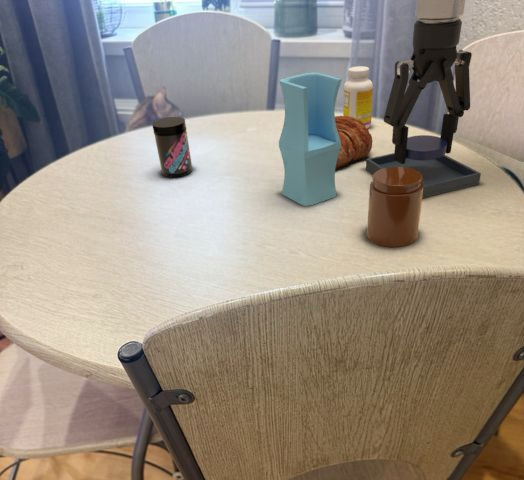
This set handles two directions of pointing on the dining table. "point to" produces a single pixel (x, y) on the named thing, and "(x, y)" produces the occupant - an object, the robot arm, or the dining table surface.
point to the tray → (432, 172)
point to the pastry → (352, 140)
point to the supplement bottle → (358, 95)
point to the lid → (425, 147)
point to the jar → (394, 206)
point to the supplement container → (172, 146)
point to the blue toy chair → (309, 137)
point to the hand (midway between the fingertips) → (422, 156)
